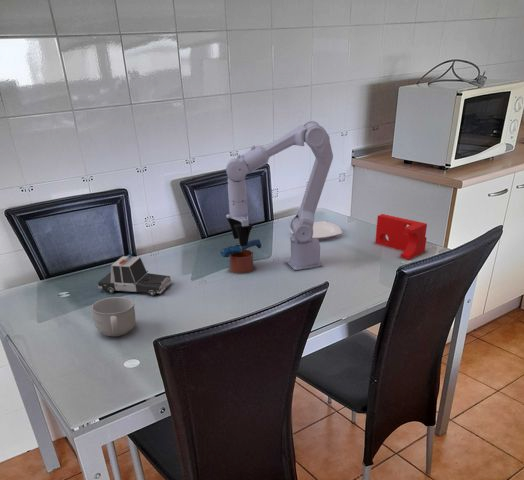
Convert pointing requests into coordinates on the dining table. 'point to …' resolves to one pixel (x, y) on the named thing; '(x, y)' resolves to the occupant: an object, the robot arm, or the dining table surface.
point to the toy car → (133, 277)
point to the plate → (325, 230)
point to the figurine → (239, 248)
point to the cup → (242, 262)
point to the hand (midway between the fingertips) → (240, 241)
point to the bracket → (401, 235)
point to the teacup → (114, 315)
